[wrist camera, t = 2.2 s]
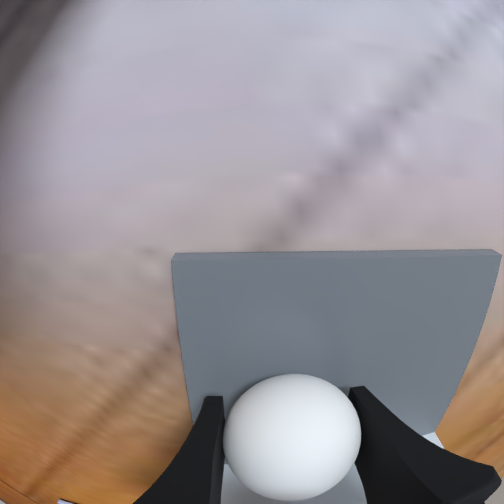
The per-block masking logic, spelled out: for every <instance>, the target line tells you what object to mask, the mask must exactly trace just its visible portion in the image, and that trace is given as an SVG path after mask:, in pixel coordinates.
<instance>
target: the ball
mask: <svg viewBox="0 0 504 504" xmlns="http://www.w3.org/2000/svg"><path fill="white" fill-rule="evenodd" d="M360 444H361V427H360V421H359V418H358V414H357V412H356V410H355V408H354V406H353V404H352V403H351V401H350V400H349V399H348V398H347V396H346V395H345V394H344V393H343V392H342V391H341V390H339V389H338V388H337V387H336V386H334V385H333V384H331V383H329V382H327V381H325V380H323V379H321V378H318V377H314V376H311V375H305V374H285V375H279V376H275V377H271V378H268V379H266V380H263V381H261V382H259V383H257V384H256V385H254V386H252V387H251V388H250V389H248V390H247V391H246V392H245V393H244V394H242V396H241V397H240V398H239V399H238V400H237V401H236V402H235V404H234V405H233V407H232V408H231V410H230V412H229V414H228V416H227V418H226V422H225V425H224V429H223V450H224V454H225V458H226V461H227V463H228V465H229V467H230V469H231V471H232V472H233V473H234V475H235V476H236V477H237V479H238V480H239V481H240V482H241V483H242V484H243V485H245V486H246V487H247V488H249V489H250V490H252V491H253V492H255V493H257V494H259V495H262V496H264V497H267V498H271V499H275V500H281V501H298V500H304V499H308V498H312V497H315V496H317V495H320V494H322V493H324V492H326V491H328V490H329V489H331V488H332V487H334V486H335V485H336V484H338V483H339V482H340V481H341V480H342V479H343V478H344V477H345V476H346V475H347V473H348V472H349V471H350V469H351V467H352V466H353V464H354V462H355V460H356V458H357V455H358V452H359V449H360Z"/></svg>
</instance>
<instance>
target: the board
mask: <svg viewBox="0 0 504 504" xmlns="http://www.w3.org/2000/svg"><path fill="white" fill-rule="evenodd" d="M501 257H502V255H501V254H499V253H498V252H496V251H494V250H492V249H479V250H395V251H311V252H226V253H175V255H174V256H173V258H172V260H171V265H172V276H173V287H174V297H175V306H176V315H177V323H178V331H179V339H180V346H181V353H182V360H183V367H184V374H185V380H186V386H187V392H188V398H189V404H190V410H191V415H192V420H193V426H194V424H195V422H196V419H197V417H198V415H199V413H200V410H201V407H202V405H203V401H204V398H205V397H206V396H223V403H224V416H225V422H226V418H227V416H228V414H229V412H230V410H231V408H232V407H233V405H234V404H235V402H236V401H237V400H238V399H239V398H240V397H241V396H242V394H244V393H245V392H246V391H247V390H248V389H250V388H251V387H252V386H254V385H256V384H257V383H259V382H261V381H263V380H266V379H268V378H271V377H275V376H279V375H285V374H305V375H311V376H314V377H318V378H321V379H323V380H325V381H327V382H329V383H331V384H333V385H334V386H336V387H337V388H338V389H339V390H341V391H342V392H343V393H344V394H345V395H346V396H347V397H348V394H349V390H350V387H357V386H365V387H366V388H367V389H368V390H369V391H370V392H371V393H372V394H373V395H374V396H375V397H376V398H377V399H378V400H379V401H380V402H382V403H383V404H384V405H385V406H386V407H387V408H388V409H389V410H390V411H391V412H392V413H393V414H395V415H396V416H397V417H398V418H399V419H400V420H401V421H403V422H404V423H405V424H406V425H408V426H409V427H410V428H412V429H413V430H414V431H415V432H417V433H418V434H420V435H421V436H423V437H424V438H426V439H427V440H429V441H431V442H432V443H434V444H436V445H437V446H439V447H441V448H443V449H444V447H443V446H442V444H441V442H440V441H439V439H438V437H437V435H436V434H435V430H436V428H437V426H438V425H439V423H440V421H441V419H442V417H443V415H444V414H445V412H446V410H447V408H448V406H449V404H450V402H451V400H452V398H453V396H454V394H455V392H456V390H457V387H458V385H459V383H460V381H461V379H462V376H463V374H464V372H465V370H466V367H467V365H468V363H469V360H470V358H471V355H472V353H473V350H474V347H475V345H476V342H477V340H478V337H479V334H480V331H481V328H482V325H483V322H484V319H485V316H486V313H487V310H488V307H489V304H490V300H491V297H492V293H493V290H494V286H495V282H496V278H497V274H498V270H499V266H500V262H501ZM221 504H367V501H366V497H365V492H364V488H363V485H362V482H361V479H360V476H359V474H358V471H357V468H356V466H355V463H354V464H353V466H352V467H351V469H350V471H349V472H348V473H347V475H346V476H345V477H344V478H343V479H342V480H341V481H340V482H339V483H338V484H336V485H335V486H334V487H332V488H331V489H329V490H328V491H326V492H324V493H322V494H320V495H317V496H315V497H312V498H308V499H304V500H298V501H281V500H275V499H271V498H267V497H264V496H262V495H259V494H257V493H255V492H253V491H252V490H250V489H249V488H247V487H246V486H245V485H243V484H242V483H241V482H240V481H239V480H238V479H237V477H236V476H235V475H234V473H233V472H232V471H231V469H230V467H229V465H228V463H227V461H226V458H225V462H224V472H223V481H222V491H221Z"/></svg>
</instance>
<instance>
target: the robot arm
mask: <svg viewBox="0 0 504 504" xmlns="http://www.w3.org/2000/svg"><path fill="white" fill-rule="evenodd" d="M347 398H348V399H349V400H350V401H351V403H352V404H353V406H354V408H355V410H356V412H357V414H358V418H359V421H360V427H361V444H360V449H359V452H358V455H357V458H356V460H355V462H354V463H355V466H356V468H357V471H358V474H359V476H360V479H361V482H362V485H363V488H364V492H365V497H366V501H367V504H485V503H484V501H485V500H487V499H488V498H489V496H490V495H492V494H493V493H494V492H495V491H496V490H497V488H498V487H499V486H500V484H501V481H502V480H501V478H500V477H499V475H498V474H497V472H496V470H495V469H494V467H493V466H490V465H486V464H482V463H478V462H475V461H471V460H469V459H466V458H463V457H460V456H458V455H456V454H453V453H451V452H449V451H447V450H445V449H443V448H441V447H439V446H437V445H436V444H434V443H432V442H431V441H429V440H427V439H426V438H424V437H423V436H421V435H420V434H418V433H417V432H415V431H414V430H413V429H412V428H410V427H409V426H408V425H406V424H405V423H404V422H403V421H401V420H400V419H399V418H398V417H397V416H396V415H395V414H393V413H392V412H391V411H390V410H389V409H388V408H387V407H386V406H385V405H384V404H383V403H382V402H380V401H379V400H378V399H377V398H376V397H375V396H374V395H373V394H372V393H371V392H370V391H369V390H368V389H367V388H366V387H365V386H357V387H350V390H349V394H348V397H347ZM224 425H225V416H224V403H223V396H206V397H205V398H204V401H203V405H202V407H201V410H200V413H199V415H198V417H197V419H196V422H195V424H194V426H193V428H192V430H191V431H190V433H189V435H188V437H187V439H186V441H185V442H184V444H183V445H182V447H181V449H180V450H179V452H178V453H177V455H176V456H175V458H174V459H173V461H172V462H171V463H170V465H169V466H168V467H167V469H166V470H165V471H164V472H163V474H162V475H161V476H160V477H159V478H158V479H157V480H156V482H155V483H154V484H153V485H152V486H151V487H150V488H149V489H148V490H147V491H146V492H145V493H144V494H143V495H142V496H140V497H139V498H138V499H137V500H136V501H135V502H134V503H133V504H221V491H222V481H223V472H224V462H225V454H224V450H223V429H224ZM58 504H73V503H70V502H66V501H63V500H58Z"/></svg>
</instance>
